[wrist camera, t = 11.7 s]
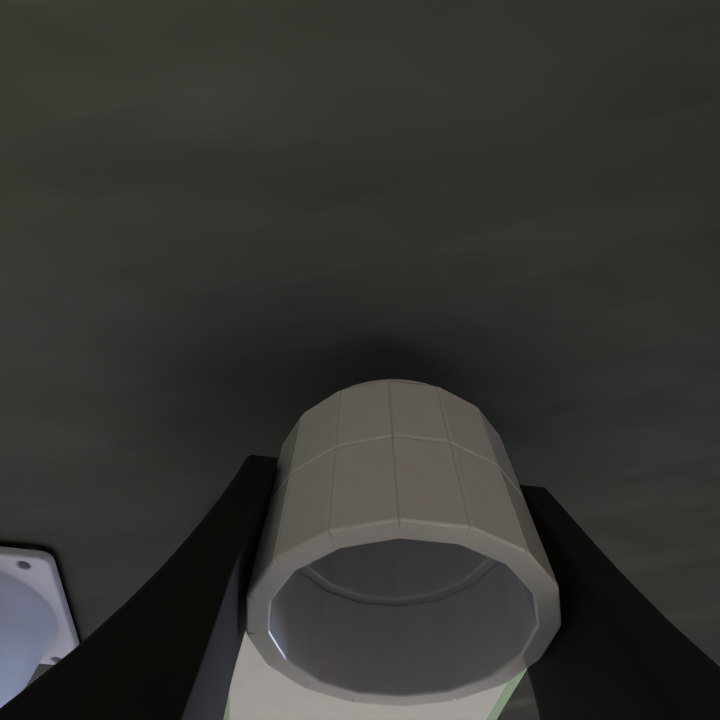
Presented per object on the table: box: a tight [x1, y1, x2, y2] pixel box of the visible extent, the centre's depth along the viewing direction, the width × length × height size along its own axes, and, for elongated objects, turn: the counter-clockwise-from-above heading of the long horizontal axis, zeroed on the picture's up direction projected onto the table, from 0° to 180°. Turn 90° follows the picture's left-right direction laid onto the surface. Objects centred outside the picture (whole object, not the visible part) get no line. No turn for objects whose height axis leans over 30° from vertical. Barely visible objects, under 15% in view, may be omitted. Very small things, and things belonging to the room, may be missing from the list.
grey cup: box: [245, 379, 561, 706], centre depth 10 cm, size 6×6×4 cm
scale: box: [223, 631, 527, 720], centre depth 20 cm, size 13×13×3 cm
